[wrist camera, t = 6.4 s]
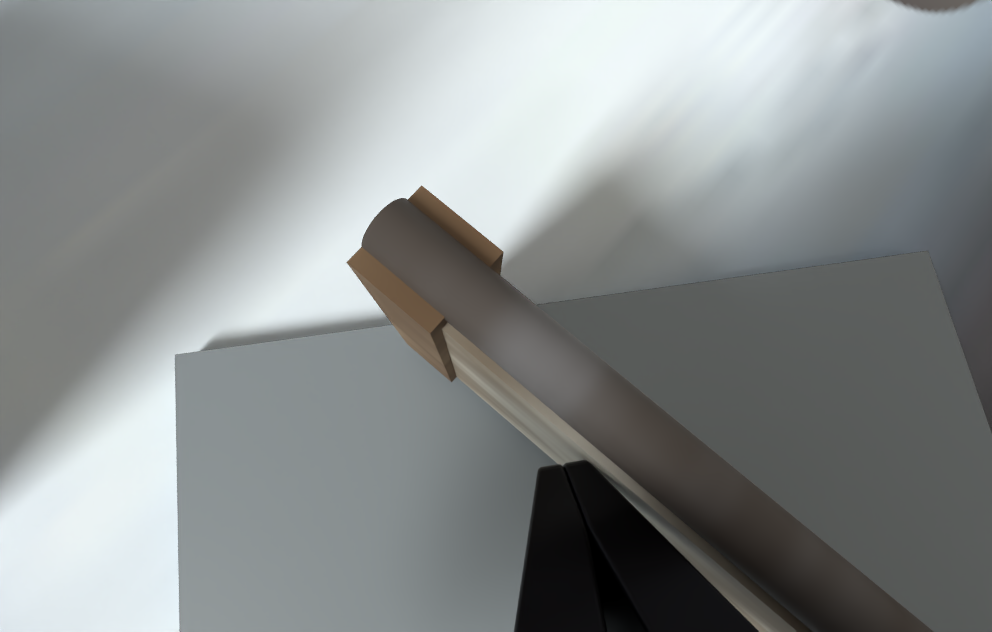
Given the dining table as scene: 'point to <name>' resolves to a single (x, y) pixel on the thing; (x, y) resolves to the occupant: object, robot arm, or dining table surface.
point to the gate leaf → (606, 424)
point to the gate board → (515, 461)
